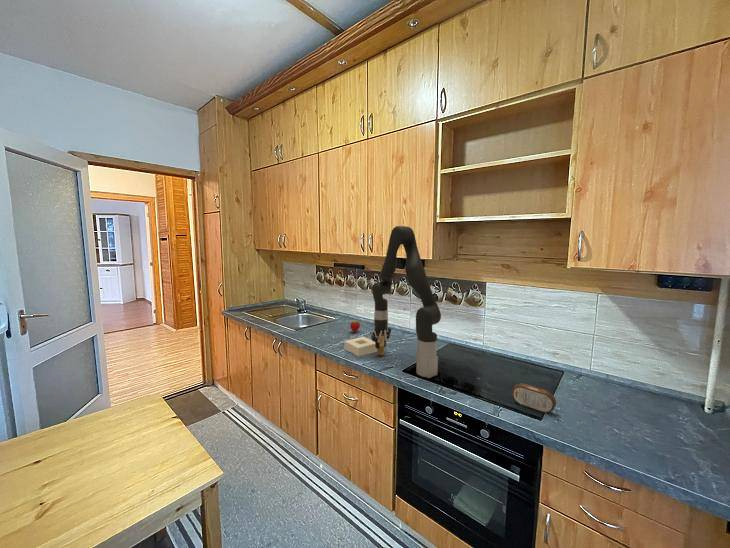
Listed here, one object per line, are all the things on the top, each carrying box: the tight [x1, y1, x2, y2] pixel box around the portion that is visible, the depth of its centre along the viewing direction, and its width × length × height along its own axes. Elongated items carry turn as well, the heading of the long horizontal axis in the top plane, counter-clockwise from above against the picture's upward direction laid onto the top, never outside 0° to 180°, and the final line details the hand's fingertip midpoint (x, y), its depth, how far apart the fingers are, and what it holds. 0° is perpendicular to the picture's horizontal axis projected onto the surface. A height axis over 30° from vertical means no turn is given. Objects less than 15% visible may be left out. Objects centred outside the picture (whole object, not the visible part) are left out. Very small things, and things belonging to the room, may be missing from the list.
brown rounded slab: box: [511, 383, 557, 414], centre depth 117 cm, size 15×3×8 cm, turn 48°
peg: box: [376, 334, 385, 356], centre depth 167 cm, size 4×4×12 cm
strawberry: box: [349, 320, 361, 333], centre depth 208 cm, size 6×8×10 cm
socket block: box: [344, 336, 377, 358], centre depth 176 cm, size 14×14×5 cm
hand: (380, 347), depth 168 cm, fingers closed on peg, 4 cm apart
